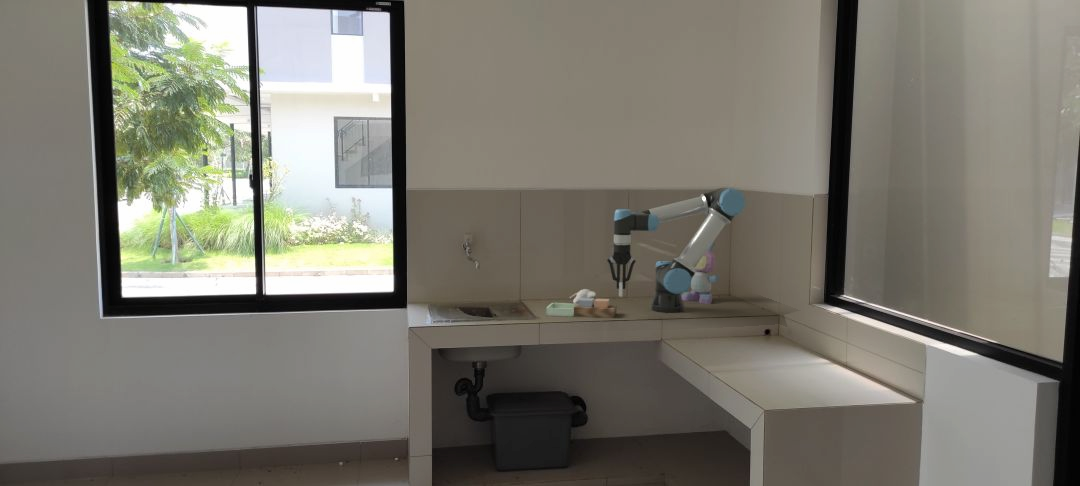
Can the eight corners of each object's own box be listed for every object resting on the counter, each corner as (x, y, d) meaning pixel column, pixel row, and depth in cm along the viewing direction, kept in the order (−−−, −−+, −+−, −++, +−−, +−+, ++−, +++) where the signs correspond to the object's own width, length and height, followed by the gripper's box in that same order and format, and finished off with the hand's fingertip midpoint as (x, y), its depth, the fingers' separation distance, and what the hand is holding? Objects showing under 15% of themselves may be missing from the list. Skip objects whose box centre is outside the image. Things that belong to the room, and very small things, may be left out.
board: (616, 313, 360) (616, 304, 359) (613, 317, 350) (613, 309, 350) (577, 311, 364) (577, 303, 363) (573, 316, 354) (573, 307, 354)
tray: (578, 311, 365) (578, 303, 365) (573, 316, 353) (573, 309, 352) (552, 310, 368) (552, 302, 368) (545, 315, 356) (545, 307, 355)
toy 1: (575, 312, 384) (572, 312, 369) (569, 296, 385) (566, 294, 370) (600, 303, 382) (598, 302, 368) (594, 286, 384) (592, 284, 369)
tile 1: (594, 304, 360) (594, 298, 359) (591, 307, 354) (592, 300, 353) (581, 304, 361) (581, 297, 361) (578, 306, 355) (578, 300, 355)
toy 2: (678, 299, 395) (679, 240, 391) (691, 296, 402) (692, 238, 399) (708, 304, 381) (710, 243, 378) (721, 301, 389) (723, 241, 386)
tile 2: (609, 305, 358) (609, 299, 358) (607, 307, 352) (607, 301, 352) (596, 304, 359) (596, 298, 359) (594, 307, 354) (594, 300, 353)
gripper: (637, 243, 353) (636, 295, 355) (608, 242, 356) (607, 293, 358) (635, 245, 345) (634, 298, 348) (606, 244, 348) (605, 296, 351)
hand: (620, 296), depth 353 cm, fingers closed
